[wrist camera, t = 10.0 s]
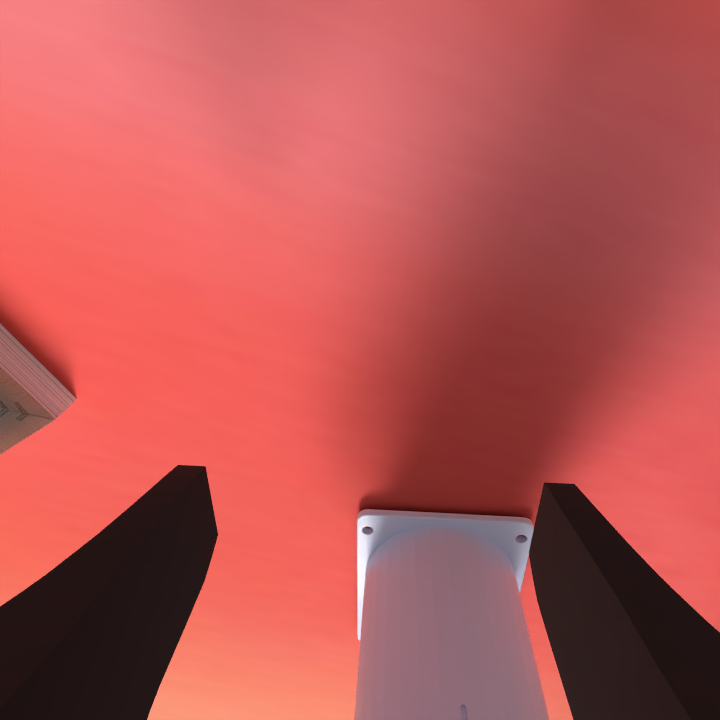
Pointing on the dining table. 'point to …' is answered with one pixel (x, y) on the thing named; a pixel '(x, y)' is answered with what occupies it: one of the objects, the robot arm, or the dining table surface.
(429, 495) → the dining table surface
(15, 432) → the picture frame
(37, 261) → the dining table surface
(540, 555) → the robot arm
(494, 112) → the dining table surface
